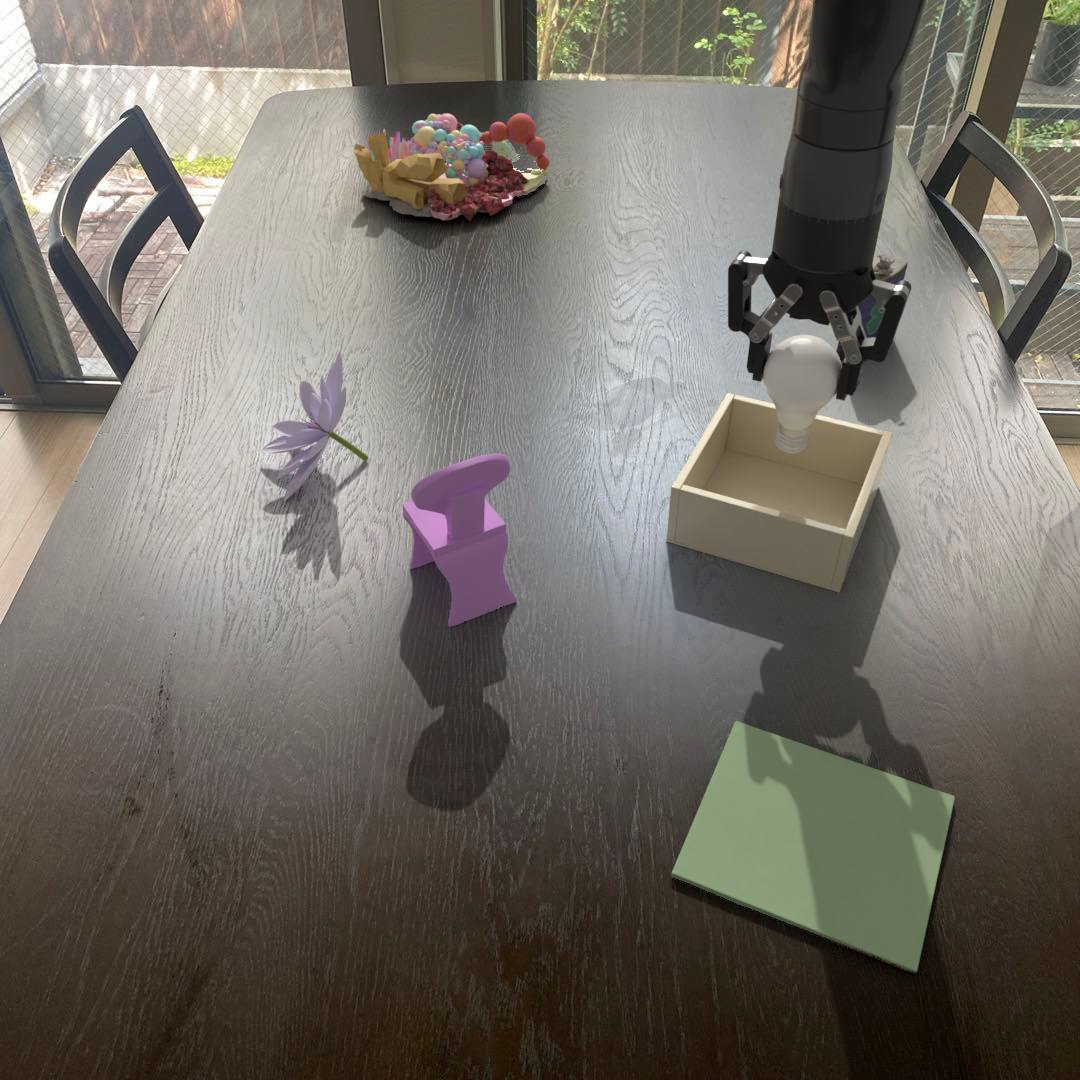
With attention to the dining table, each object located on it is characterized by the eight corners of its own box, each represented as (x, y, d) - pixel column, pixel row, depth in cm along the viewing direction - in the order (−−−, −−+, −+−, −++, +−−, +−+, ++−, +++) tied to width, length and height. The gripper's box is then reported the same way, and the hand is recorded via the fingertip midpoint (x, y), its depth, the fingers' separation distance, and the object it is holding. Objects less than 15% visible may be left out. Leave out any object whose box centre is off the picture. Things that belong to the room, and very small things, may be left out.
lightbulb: (746, 464, 93) (761, 354, 85) (760, 422, 97) (775, 315, 90) (821, 478, 91) (843, 367, 84) (831, 435, 96) (853, 326, 88)
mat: (953, 801, 76) (955, 796, 76) (915, 976, 67) (917, 971, 66) (734, 725, 81) (735, 720, 81) (670, 877, 72) (671, 873, 71)
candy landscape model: (474, 239, 140) (470, 170, 134) (330, 201, 149) (320, 135, 142) (568, 169, 156) (568, 104, 149) (433, 138, 165) (428, 76, 158)
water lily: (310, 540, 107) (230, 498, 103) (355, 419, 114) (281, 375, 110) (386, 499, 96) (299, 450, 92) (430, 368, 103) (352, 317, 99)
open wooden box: (879, 486, 102) (893, 432, 98) (839, 592, 91) (853, 537, 87) (720, 445, 107) (727, 392, 103) (666, 541, 96) (670, 486, 92)
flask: (877, 324, 123) (897, 237, 116) (899, 334, 122) (921, 247, 114) (829, 355, 119) (847, 267, 111) (851, 366, 117) (871, 277, 110)
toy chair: (482, 536, 97) (473, 398, 87) (527, 597, 91) (524, 456, 81) (396, 567, 94) (377, 428, 84) (438, 632, 89) (422, 491, 78)
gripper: (943, 189, 79) (897, 381, 90) (751, 158, 83) (730, 345, 95) (923, 232, 74) (877, 430, 85) (721, 197, 78) (702, 389, 90)
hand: (800, 384), depth 90 cm, fingers closed on lightbulb, 6 cm apart
